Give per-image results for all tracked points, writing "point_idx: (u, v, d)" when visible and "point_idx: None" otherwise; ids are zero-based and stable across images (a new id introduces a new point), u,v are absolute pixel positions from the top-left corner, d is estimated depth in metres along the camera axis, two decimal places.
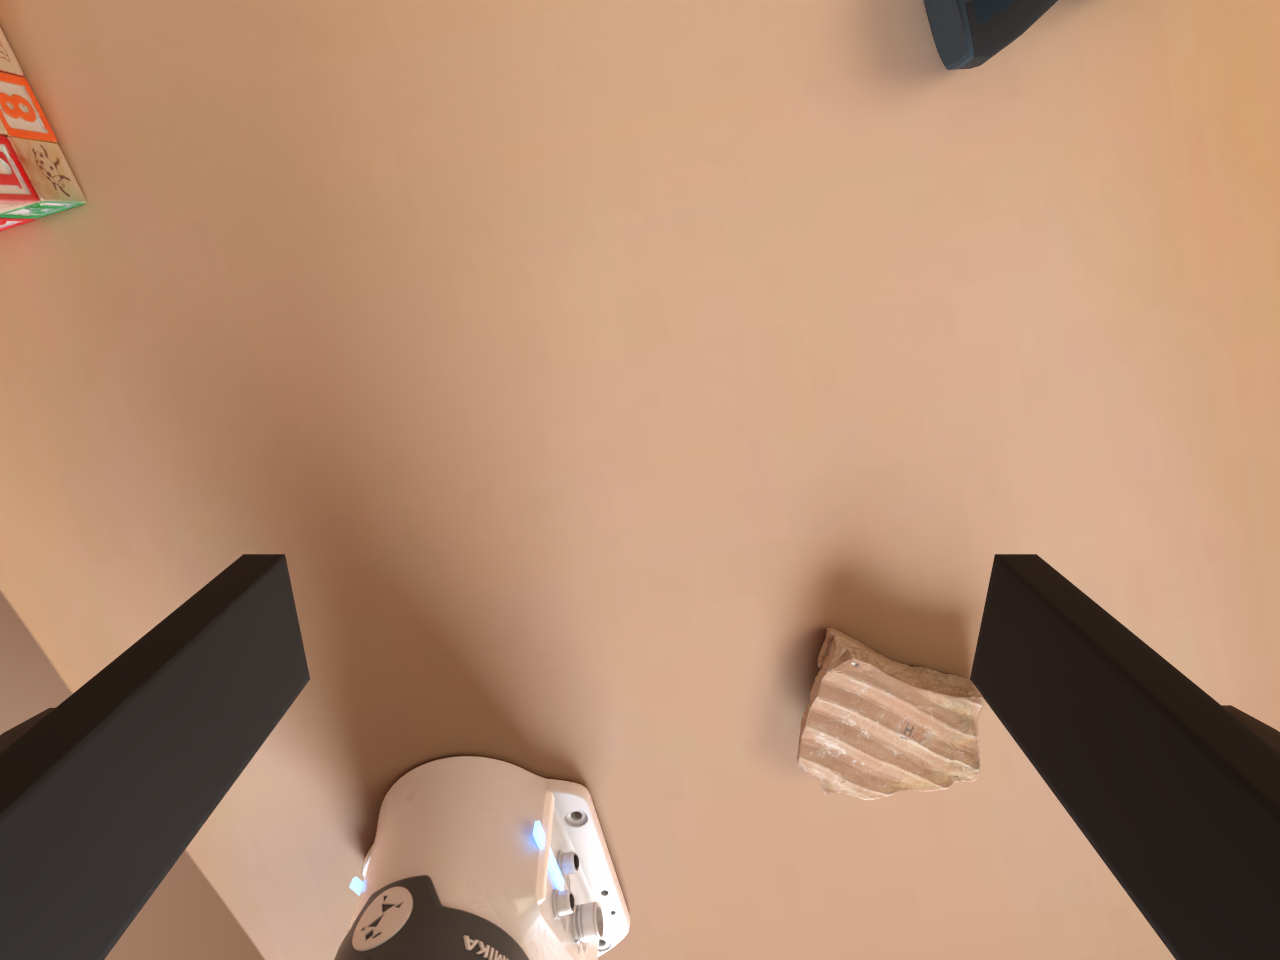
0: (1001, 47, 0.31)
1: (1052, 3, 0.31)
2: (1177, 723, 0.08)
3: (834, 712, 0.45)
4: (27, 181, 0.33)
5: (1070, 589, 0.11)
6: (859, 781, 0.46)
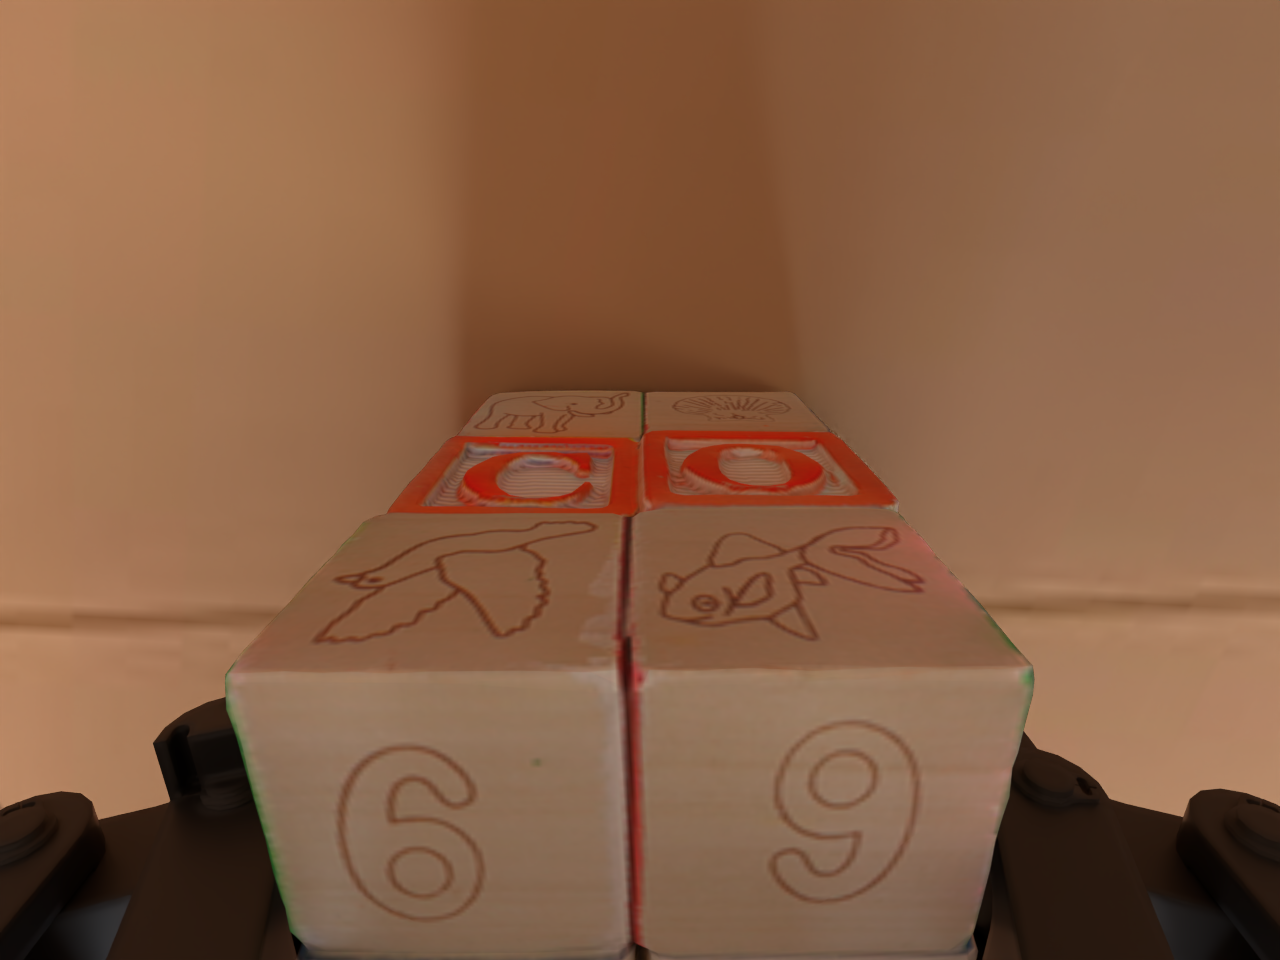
0: None
1: None
2: None
3: None
4: None
5: None
6: None
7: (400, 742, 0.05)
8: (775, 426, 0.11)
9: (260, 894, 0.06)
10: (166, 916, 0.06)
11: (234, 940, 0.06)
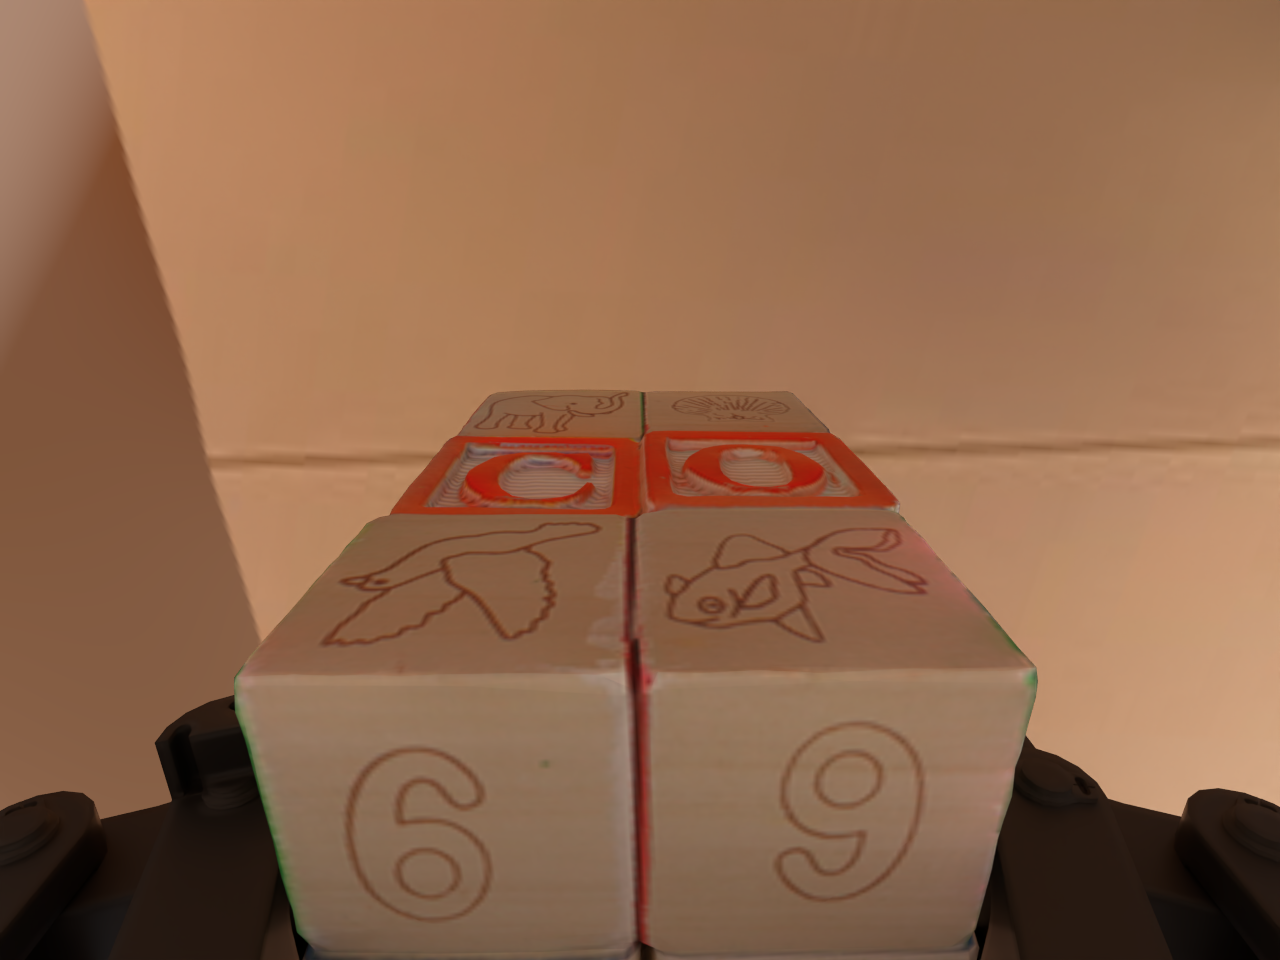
0: None
1: None
2: None
3: None
4: None
5: None
6: None
7: (409, 745, 0.05)
8: (775, 427, 0.11)
9: (262, 894, 0.06)
10: (169, 916, 0.06)
11: (236, 939, 0.06)
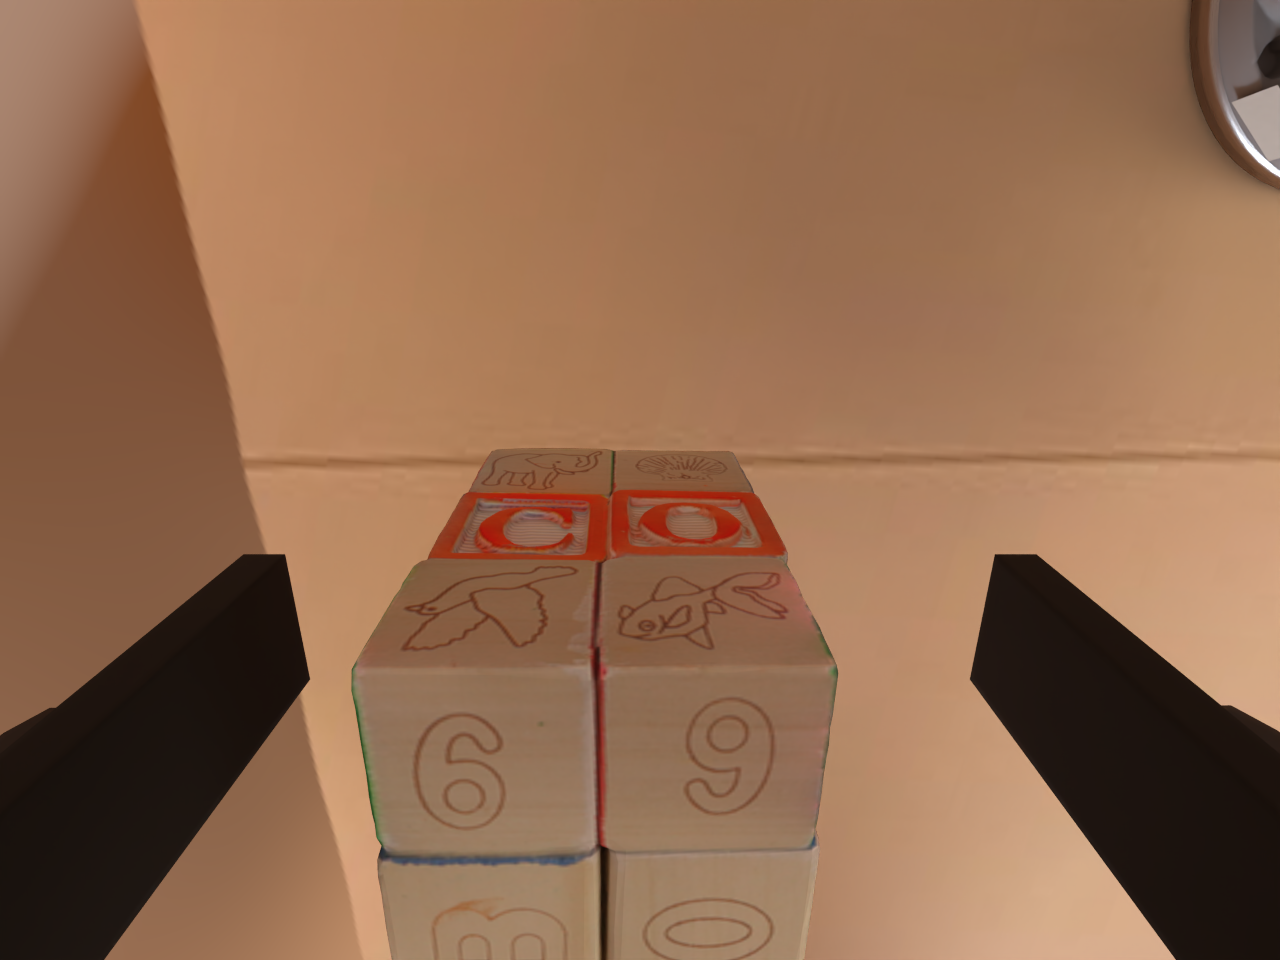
0: None
1: None
2: (1177, 723, 0.08)
3: None
4: None
5: (1070, 589, 0.11)
6: None
7: (457, 711, 0.09)
8: (712, 486, 0.14)
9: None
10: None
11: None
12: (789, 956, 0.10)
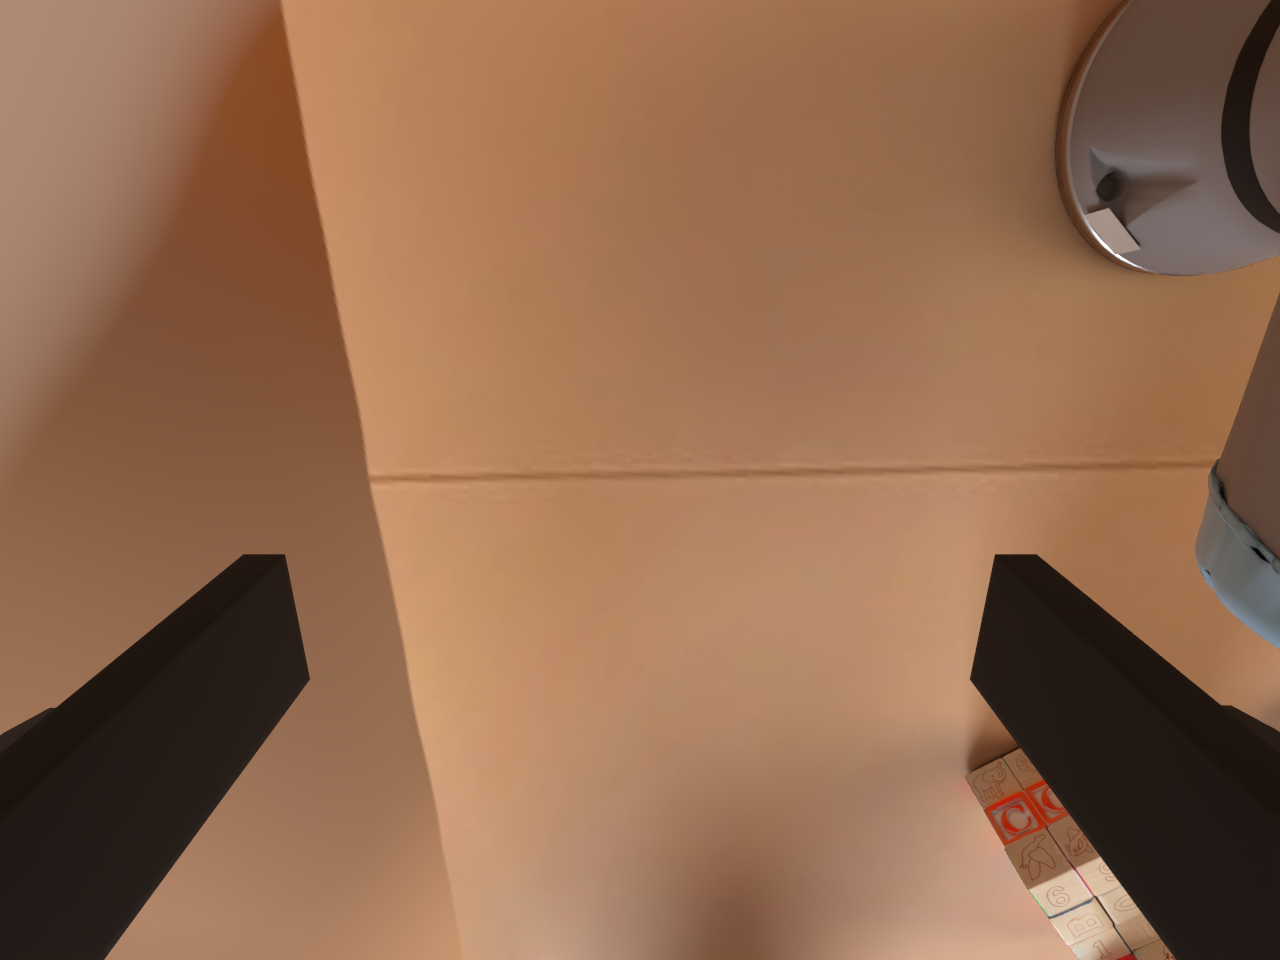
0: None
1: None
2: (1176, 723, 0.08)
3: None
4: None
5: (1070, 589, 0.11)
6: None
7: (1051, 887, 0.41)
8: None
9: None
10: None
11: None
12: None
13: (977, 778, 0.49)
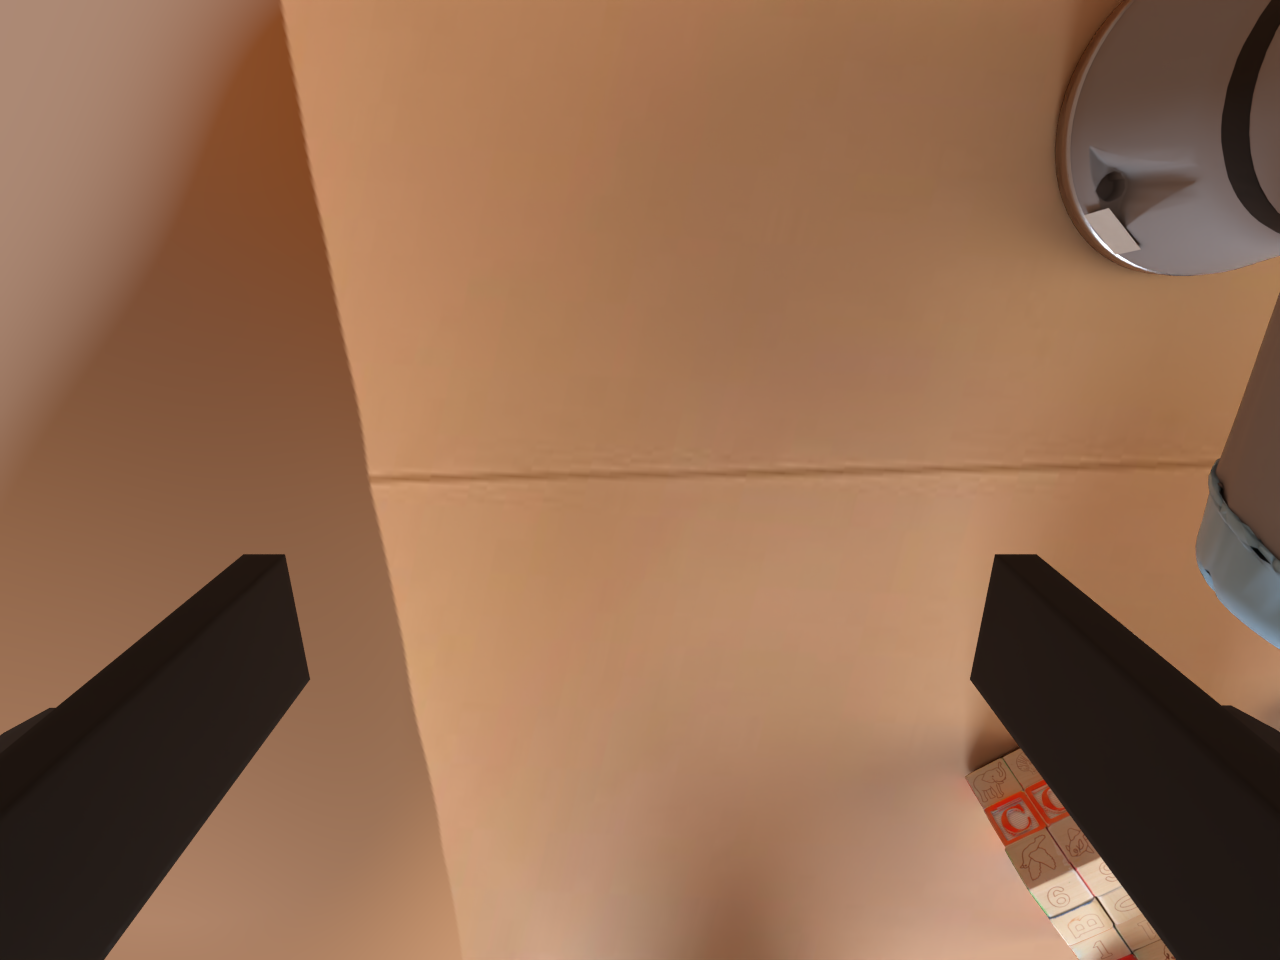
0: None
1: None
2: (1176, 723, 0.08)
3: None
4: None
5: (1070, 589, 0.11)
6: None
7: (1052, 887, 0.41)
8: None
9: None
10: None
11: None
12: None
13: (977, 778, 0.49)
